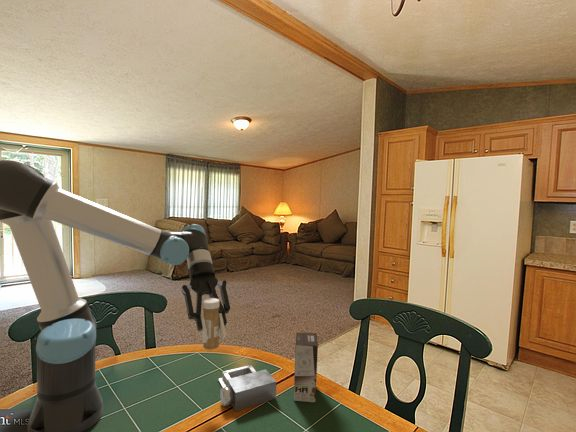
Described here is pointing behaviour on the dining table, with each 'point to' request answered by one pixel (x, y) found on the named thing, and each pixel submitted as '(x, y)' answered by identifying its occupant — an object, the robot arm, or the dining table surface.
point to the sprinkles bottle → (211, 322)
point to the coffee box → (305, 367)
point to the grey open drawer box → (246, 387)
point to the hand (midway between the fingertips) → (215, 338)
